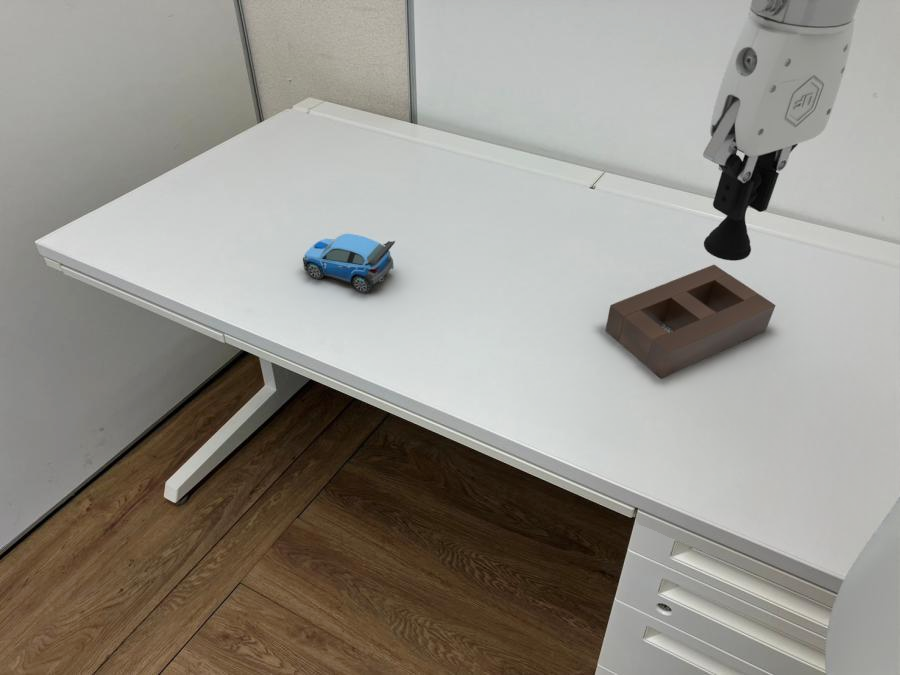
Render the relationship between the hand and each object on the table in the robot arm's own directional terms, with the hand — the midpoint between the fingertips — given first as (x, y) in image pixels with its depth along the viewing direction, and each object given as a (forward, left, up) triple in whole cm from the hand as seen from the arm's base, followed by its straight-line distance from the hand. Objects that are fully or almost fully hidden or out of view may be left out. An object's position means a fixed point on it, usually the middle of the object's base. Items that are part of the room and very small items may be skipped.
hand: (739, 207), depth 66 cm
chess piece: (0, 0, -5) cm, 5 cm away
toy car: (+37, +26, -22) cm, 50 cm away
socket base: (+6, -5, -21) cm, 23 cm away
